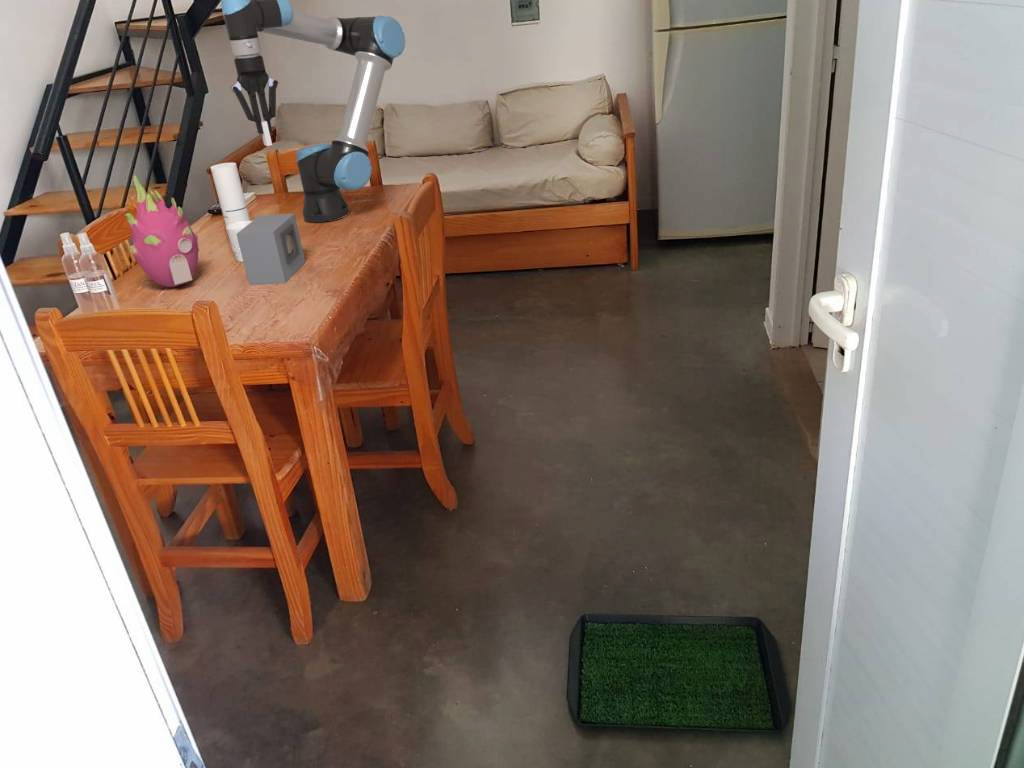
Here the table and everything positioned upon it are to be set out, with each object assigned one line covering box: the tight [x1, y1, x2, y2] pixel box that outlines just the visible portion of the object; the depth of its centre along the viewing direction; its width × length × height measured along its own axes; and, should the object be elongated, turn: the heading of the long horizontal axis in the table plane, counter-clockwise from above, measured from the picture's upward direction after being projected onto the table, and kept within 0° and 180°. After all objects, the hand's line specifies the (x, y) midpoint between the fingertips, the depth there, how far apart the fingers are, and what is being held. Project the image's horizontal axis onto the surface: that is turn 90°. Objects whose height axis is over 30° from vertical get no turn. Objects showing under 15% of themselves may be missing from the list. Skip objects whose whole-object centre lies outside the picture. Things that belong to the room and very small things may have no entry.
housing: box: [236, 213, 306, 286], centre depth 211 cm, size 11×16×14 cm, turn 174°
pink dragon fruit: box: [124, 175, 200, 288], centre depth 205 cm, size 18×14×30 cm
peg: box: [285, 235, 293, 254], centre depth 210 cm, size 10×5×5 cm, turn 84°
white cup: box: [225, 220, 253, 263], centre depth 226 cm, size 8×8×10 cm
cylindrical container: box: [210, 162, 251, 253], centre depth 230 cm, size 7×7×25 cm
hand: (268, 144), depth 223 cm, fingers closed
